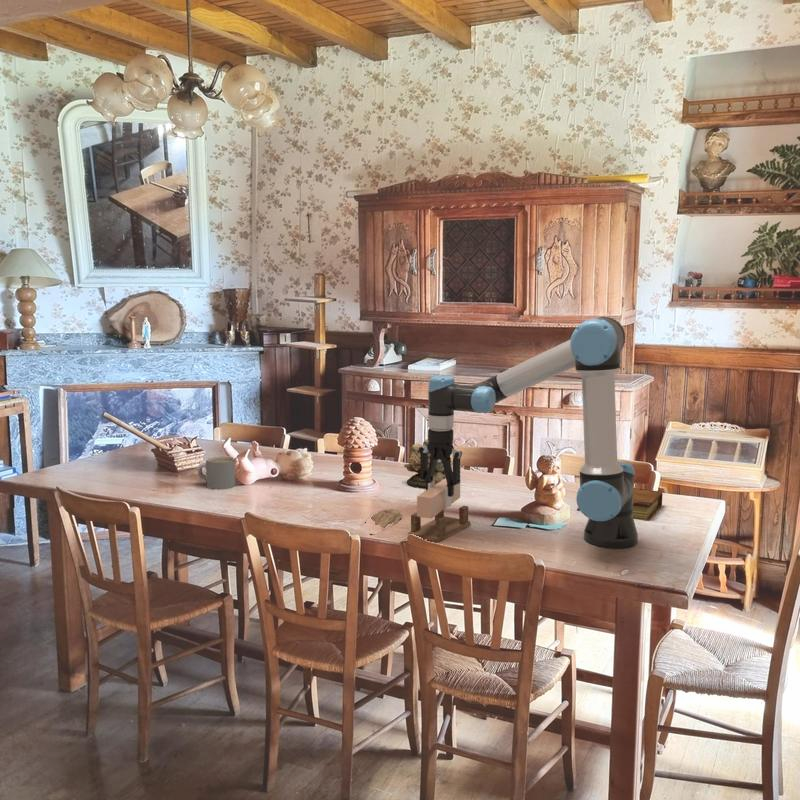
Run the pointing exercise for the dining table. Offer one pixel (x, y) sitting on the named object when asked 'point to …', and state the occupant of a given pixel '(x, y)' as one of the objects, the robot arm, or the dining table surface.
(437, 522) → the rack
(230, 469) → the coffee mug
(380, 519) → the fish fossil
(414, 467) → the owl figurine
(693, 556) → the dining table surface
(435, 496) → the clay strip
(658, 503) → the diary
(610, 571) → the dining table surface
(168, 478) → the dining table surface
